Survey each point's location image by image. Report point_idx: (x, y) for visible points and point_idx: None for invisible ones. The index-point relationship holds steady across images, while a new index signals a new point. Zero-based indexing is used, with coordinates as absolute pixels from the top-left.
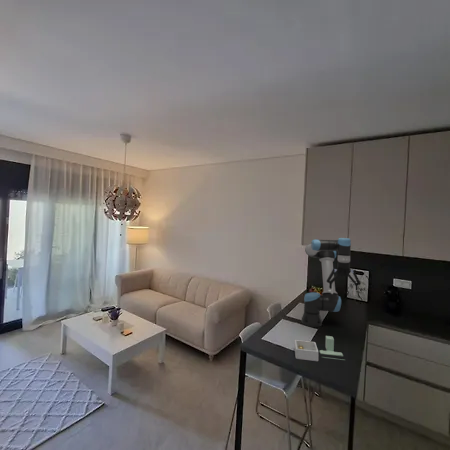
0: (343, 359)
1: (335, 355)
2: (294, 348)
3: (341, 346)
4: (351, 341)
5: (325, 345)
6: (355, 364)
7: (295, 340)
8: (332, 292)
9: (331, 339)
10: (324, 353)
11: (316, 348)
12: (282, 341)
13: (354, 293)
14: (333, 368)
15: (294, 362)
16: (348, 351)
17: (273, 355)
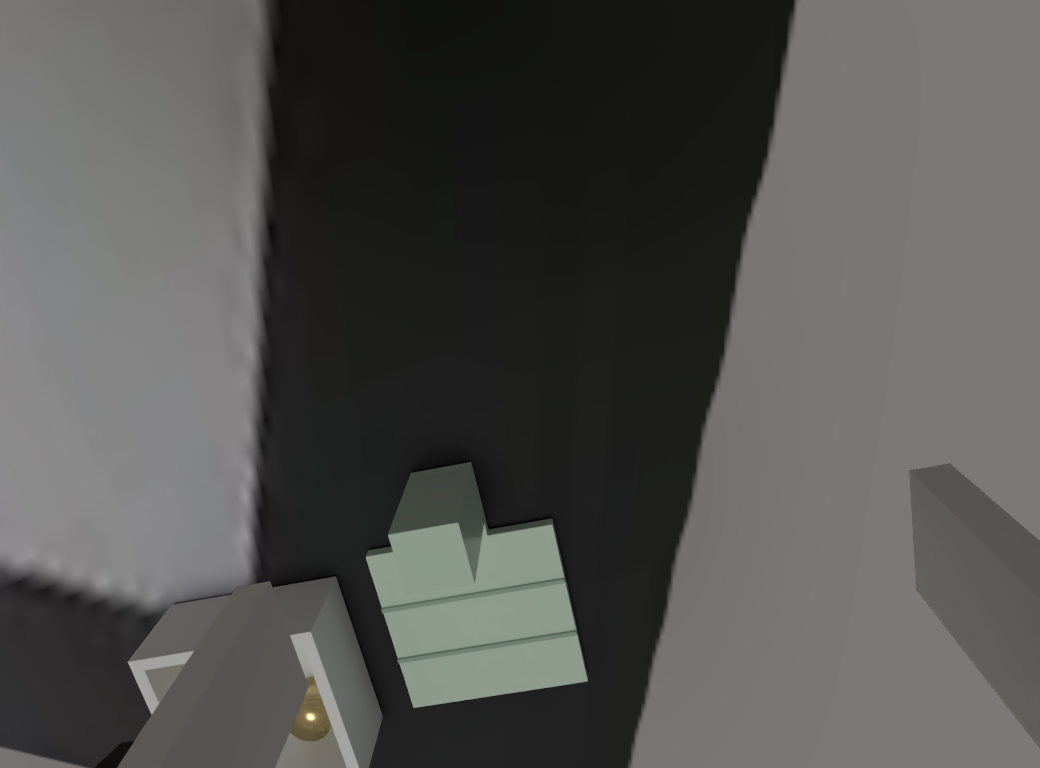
0: (561, 634)
1: (500, 591)
2: (167, 615)
3: (556, 358)
4: (669, 178)
5: (406, 488)
6: (648, 629)
7: (138, 670)
8: (281, 725)
9: (451, 586)
10: (412, 595)
11: (340, 738)
12: (25, 497)
13: (957, 632)
14: (490, 737)
15: None
16: (614, 436)
17: (64, 737)
